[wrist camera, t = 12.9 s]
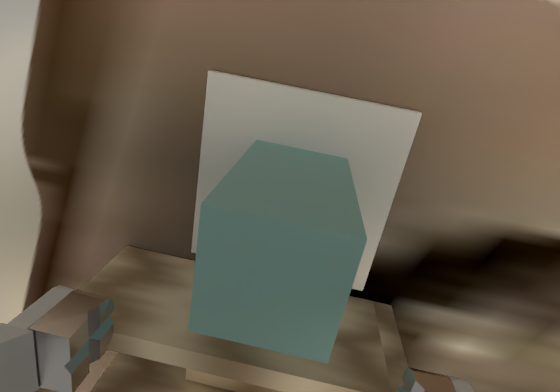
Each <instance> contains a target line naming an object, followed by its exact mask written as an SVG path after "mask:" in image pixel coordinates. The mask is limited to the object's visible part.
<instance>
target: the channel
mask: <svg viewBox="0 0 560 392" xmlns="http://www.w3.org/2000/svg"><path fill="white" fill-rule="evenodd" d="M194 269H195V261H193V260H188V259H184V258H179V257H175V256H171V255H166V254H162V253H157V252H153V251H148V250H144V249H140V248H135V247H131V246H126V247H124V248H123V249H122V250H121V251H120V252H119V253H118V254H117V255H116V256H115V257H114V258H113V259H112V260H111V261H109V262H108V263H107V264H106V265H105V266H104V267H103V268H102V269H101V270H100V271H99V272H98V273H97V274H95V275H94V276H93V277H92V278H91V279H90V280H89V281H88V282H87V283H86V284H85V285H84V286H83V287H81V288H80V289H79V290H81V291H85V292H89V293H93V294H97V295H101V296H104V297H108V298H111V299H112V300H114V311H113V312H112V313H111V314H110V315H109V317H110V318H111V320H112V321H113V322H114V331H113V336H112V339H111V341H110V344H109V346H108V348H107V350H111V351H116V352H118V354H117V355H116V356H115V358H114V359H113V361H112V362H111V363H110V365H109V366H108V368H107V369H106V370H105V372H104V373H103V375H102V376H101V378H100V379H99V380H98V382H97V383H96V385H95V386H94V387H93V389H92V390H91V392H396V390H397V389H399V388H401V387H402V386H404V385H403V381H402V376H403V373H404V371H405V370H406V369H407V368H408V364H407V360H406V357H405V353H404V349H403V346H402V342H401V338H400V335H399V331H398V328H397V324H396V320H395V317H394V313H393V309H392V306H391V305H388V304H383V303H379V302H374V301H370V300H365V299H361V298H357V297H352V296H349V298H348V301H347V305H346V308H345V311H344V314H343V317H342V320H341V323H340V327H339V330H338V333H337V336H336V339H335V342H334V345H333V348H332V352H331V355H330V358H329V361H328V364H327V363H323V362H318V361H314V360H310V359H306V358H301V357H297V356H293V355H289V354H284V353H280V352H276V351H272V350H267V349H263V348H259V347H255V346H250V345H246V344H242V343H238V342H233V341H229V340H225V339H221V338H216V337H212V336H208V335H204V334H199V333H195V332H191V331H188V329H189V319H190V309H191V299H192V289H193V279H194Z"/></svg>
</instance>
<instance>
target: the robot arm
mask: <svg viewBox="0 0 560 392" xmlns="http://www.w3.org/2000/svg"><path fill="white" fill-rule="evenodd" d="M113 311H114V300H112V299H111V298H108V297H104V296H101V295H97V294H93V293H89V292H85V291H81V290H78V289H77V290H76V289H72V288H68V287H64V286H61V285H60V286H56V287H53V288H52V289H51V290H50V291H48V292H47V293H46V294H44V295H43V296H42V297H41V298H39V299H38V300H37V301H36V302H34V303H33V304H32V305H31V306H29V307H28V308H27V309H26V310H24V311H23V312H22V313H21V314H19V315H18V316H17V317H16V318H14V319H13V320H12V321H11V322H9V323H8V324H3V323H0V392H35V391H37V390H38V389H39V387H40V388H44V389H49V390H54V391H58V392H74V391H75V390H76V389H77V387H78V386H79V385H80V384H81V382H82V381H83V380H84V378H85V377H86V376H87V375H88V373H89V364H90V363H92V362H94V361H96V360H98V359H100V358H101V357H102V355H103V354H104V352H105V351H106V350H107V348H108V346H109V344H110V341H111V339H112V336H113V331H114V322H113V321H112V320H111V318H110V317H109V315H110V314H111V313H112V312H113ZM402 381H403V385H404V386H402V387H401V388H399V389H397V390H396V392H474V391H473V388H472V386H471V384H470V383H469V382H468V381H467V380H465V379H460V378H455V377H451V376H445V375H441V374H436V373H432V372H427V371H423V370H418V369H414V368H409V367H408V368H407V369H406V370H405V371H404V373H403V376H402Z"/></svg>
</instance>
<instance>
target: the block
mask: <svg viewBox="0 0 560 392" xmlns="http://www.w3.org/2000/svg"><path fill="white" fill-rule="evenodd" d="M366 242H367V236H366V232H365V228H364V224H363V220H362V216H361V212H360V207H359V203H358V199H357V195H356V191H355V187H354V183H353V179H352V174H351V170H350V166H349V162H348V159H347V158H343V157H338V156H333V155H328V154H323V153H318V152H314V151H309V150H304V149H299V148H294V147H290V146H285V145H280V144H275V143H270V142H265V141H261V140H256V141H255V142H254V143H253V144H252V145H251V147H250V148H249V149H248V150H247V151H246V152H245V153H244V155H243V156H242V157H241V158H240V159H239V160H238V162H237V163H236V164H235V165H234V166H233V167H232V168H231V170H230V171H229V172H228V173H227V174H226V175H225V176H224V178H223V179H222V180H221V181H220V182H219V183H218V184H217V186H216V187H215V188H214V189H213V190H212V191H211V193H210V194H209V195H208V196H207V197H206V198H205V199H204V201H203V202H202V203H201V209H200V219H199V229H198V239H197V249H196V259H195V269H194V279H193V289H192V299H191V309H190V319H189V329H188V331H191V332H195V333H199V334H204V335H208V336H212V337H216V338H221V339H225V340H229V341H233V342H238V343H242V344H246V345H250V346H255V347H259V348H263V349H267V350H272V351H276V352H280V353H284V354H289V355H293V356H297V357H301V358H306V359H310V360H314V361H318V362H323V363H327V364H328V361H329V358H330V355H331V352H332V348H333V345H334V342H335V339H336V336H337V333H338V330H339V327H340V323H341V320H342V317H343V314H344V311H345V308H346V305H347V301H348V298H349V295H350V292H351V289H352V286H353V283H354V280H355V276H356V273H357V270H358V267H359V264H360V261H361V258H362V255H363V251H364V248H365V245H366Z"/></svg>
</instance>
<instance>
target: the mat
mask: <svg viewBox="0 0 560 392" xmlns="http://www.w3.org/2000/svg"><path fill="white" fill-rule="evenodd" d="M421 116H422V113H421V112H419V111H415V110H410V109H405V108H400V107H395V106H390V105H385V104H380V103H375V102H370V101H365V100H360V99H355V98H350V97H345V96H340V95H335V94H330V93H325V92H320V91H315V90H310V89H305V88H300V87H295V86H290V85H285V84H280V83H275V82H270V81H265V80H260V79H255V78H250V77H245V76H240V75H235V74H230V73H225V72H220V71H215V70H208V77H207V88H206V99H205V109H204V120H203V131H202V142H201V152H200V163H199V174H198V184H197V195H196V206H195V217H194V227H193V238H192V249H191V253H196V249H197V239H198V229H199V219H200V209H201V203H202V202H203V201H204V199H205V198H206V197H207V196H208V195H209V194H210V193H211V191H212V190H213V189H214V188H215V187H216V186H217V184H218V183H219V182H220V181H221V180H222V179H223V178H224V176H225V175H226V174H227V173H228V172H229V171H230V170H231V168H232V167H233V166H234V165H235V164H236V163H237V162H238V160H239V159H240V158H241V157H242V156H243V155H244V153H245V152H246V151H247V150H248V149H249V148H250V147H251V145H252V144H253V143H254V142H255V141H256V140H261V141H265V142H270V143H275V144H280V145H285V146H290V147H294V148H299V149H304V150H309V151H314V152H318V153H323V154H328V155H333V156H338V157H343V158H347V159H348V162H349V166H350V170H351V174H352V179H353V183H354V187H355V191H356V195H357V199H358V203H359V207H360V212H361V216H362V220H363V224H364V228H365V232H366V236H367V242H366V245H365V248H364V251H363V255H362V258H361V261H360V264H359V267H358V270H357V273H356V276H355V280H354V283H353V286H352V289H356V290H360V291H363V289H364V286H365V283H366V280H367V277H368V274H369V271H370V268H371V265H372V262H373V259H374V256H375V253H376V250H377V247H378V244H379V241H380V238H381V235H382V232H383V229H384V226H385V223H386V220H387V217H388V214H389V211H390V208H391V205H392V202H393V199H394V196H395V193H396V190H397V187H398V184H399V181H400V178H401V175H402V172H403V169H404V166H405V163H406V161H407V158H408V155H409V152H410V149H411V146H412V143H413V140H414V137H415V134H416V131H417V128H418V125H419V122H420V119H421Z"/></svg>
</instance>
